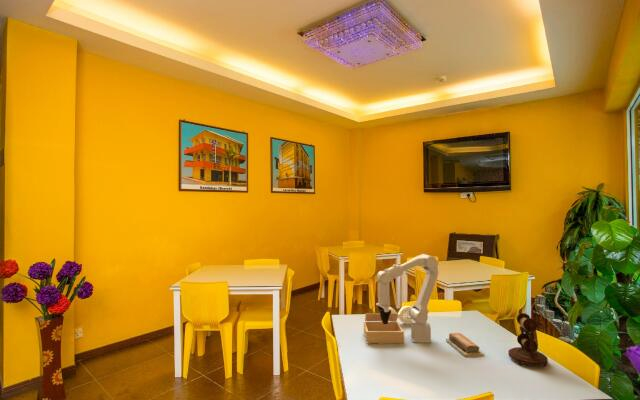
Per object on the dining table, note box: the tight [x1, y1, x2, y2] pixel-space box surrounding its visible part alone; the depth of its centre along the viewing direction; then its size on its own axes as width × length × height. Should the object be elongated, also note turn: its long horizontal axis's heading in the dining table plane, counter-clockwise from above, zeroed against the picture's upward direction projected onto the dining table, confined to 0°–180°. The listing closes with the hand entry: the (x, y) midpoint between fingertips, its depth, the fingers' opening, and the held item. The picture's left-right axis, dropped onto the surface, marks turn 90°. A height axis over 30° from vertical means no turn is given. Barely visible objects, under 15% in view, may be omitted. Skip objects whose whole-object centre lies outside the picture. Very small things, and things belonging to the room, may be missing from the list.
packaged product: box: [445, 332, 485, 358], centre depth 160 cm, size 18×5×10 cm
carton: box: [363, 321, 405, 345], centre depth 173 cm, size 19×14×6 cm
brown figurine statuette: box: [508, 312, 549, 367], centre depth 146 cm, size 15×15×20 cm
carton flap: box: [364, 312, 399, 322], centre depth 178 cm, size 17×7×1 cm
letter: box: [380, 305, 412, 325], centre depth 192 cm, size 22×2×10 cm, turn 99°
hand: (384, 321), depth 167 cm, fingers open, 5 cm apart
